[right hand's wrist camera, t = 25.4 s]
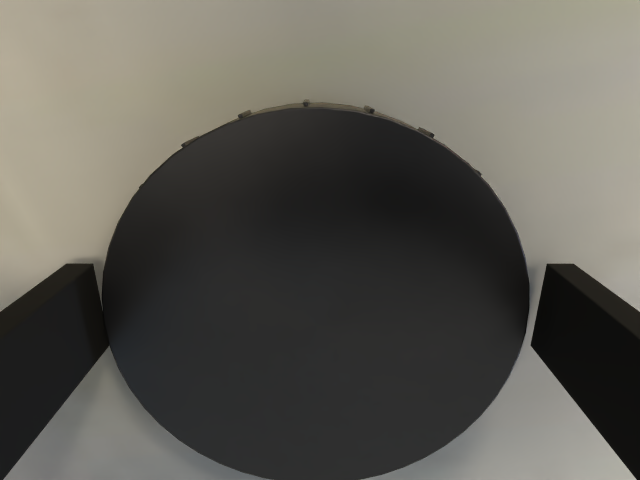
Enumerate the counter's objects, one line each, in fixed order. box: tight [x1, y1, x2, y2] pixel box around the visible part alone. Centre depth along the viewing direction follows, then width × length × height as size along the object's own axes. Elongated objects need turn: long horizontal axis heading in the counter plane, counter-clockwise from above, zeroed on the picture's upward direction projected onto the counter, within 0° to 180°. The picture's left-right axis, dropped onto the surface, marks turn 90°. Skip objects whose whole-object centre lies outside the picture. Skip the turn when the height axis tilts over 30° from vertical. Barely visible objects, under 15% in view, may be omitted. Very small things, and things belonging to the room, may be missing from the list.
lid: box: [102, 100, 529, 480], centre depth 13 cm, size 12×12×2 cm
